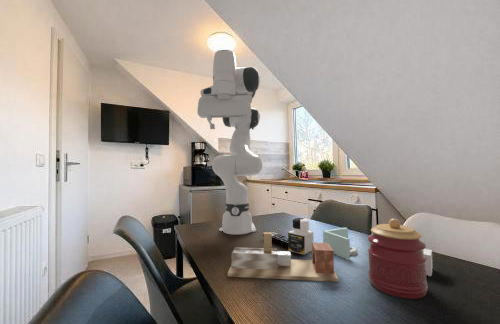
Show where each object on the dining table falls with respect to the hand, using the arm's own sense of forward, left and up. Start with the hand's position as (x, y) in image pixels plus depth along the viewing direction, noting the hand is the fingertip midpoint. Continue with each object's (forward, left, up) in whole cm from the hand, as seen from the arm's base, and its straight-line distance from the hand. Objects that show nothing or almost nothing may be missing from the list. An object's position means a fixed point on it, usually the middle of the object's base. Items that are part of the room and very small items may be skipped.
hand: (224, 128), depth 86 cm
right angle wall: (-7, +45, -47) cm, 66 cm away
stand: (+12, +20, -47) cm, 52 cm away
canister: (+19, +50, -47) cm, 71 cm away
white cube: (+8, +62, -47) cm, 78 cm away
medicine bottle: (-6, +28, -47) cm, 55 cm away
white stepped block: (+12, +14, -45) cm, 48 cm away
